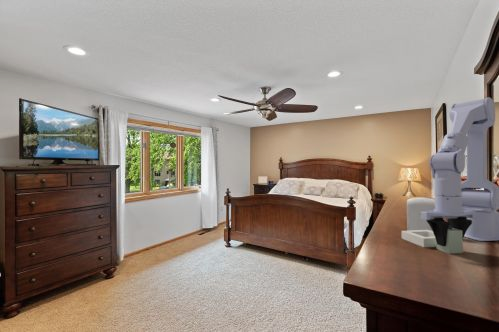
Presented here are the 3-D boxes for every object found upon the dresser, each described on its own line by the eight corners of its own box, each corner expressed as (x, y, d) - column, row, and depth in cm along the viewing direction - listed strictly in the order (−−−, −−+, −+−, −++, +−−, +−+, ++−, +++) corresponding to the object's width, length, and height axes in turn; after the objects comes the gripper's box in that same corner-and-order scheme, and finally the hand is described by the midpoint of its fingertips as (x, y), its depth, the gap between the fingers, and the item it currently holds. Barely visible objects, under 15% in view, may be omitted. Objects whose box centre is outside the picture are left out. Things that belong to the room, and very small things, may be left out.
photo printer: (405, 231, 88) (404, 196, 88) (409, 229, 91) (408, 196, 91) (440, 236, 80) (439, 199, 80) (444, 234, 83) (443, 198, 83)
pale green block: (449, 248, 69) (448, 224, 69) (462, 252, 65) (462, 227, 65) (436, 248, 69) (435, 224, 69) (449, 253, 65) (448, 228, 65)
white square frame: (427, 237, 80) (427, 229, 80) (452, 246, 71) (452, 237, 71) (401, 238, 79) (401, 230, 79) (423, 247, 70) (423, 238, 70)
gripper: (458, 193, 72) (459, 239, 72) (412, 194, 71) (413, 241, 70) (483, 196, 65) (484, 247, 65) (432, 197, 63) (433, 249, 63)
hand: (449, 244), depth 67 cm, fingers closed on pale green block, 4 cm apart
